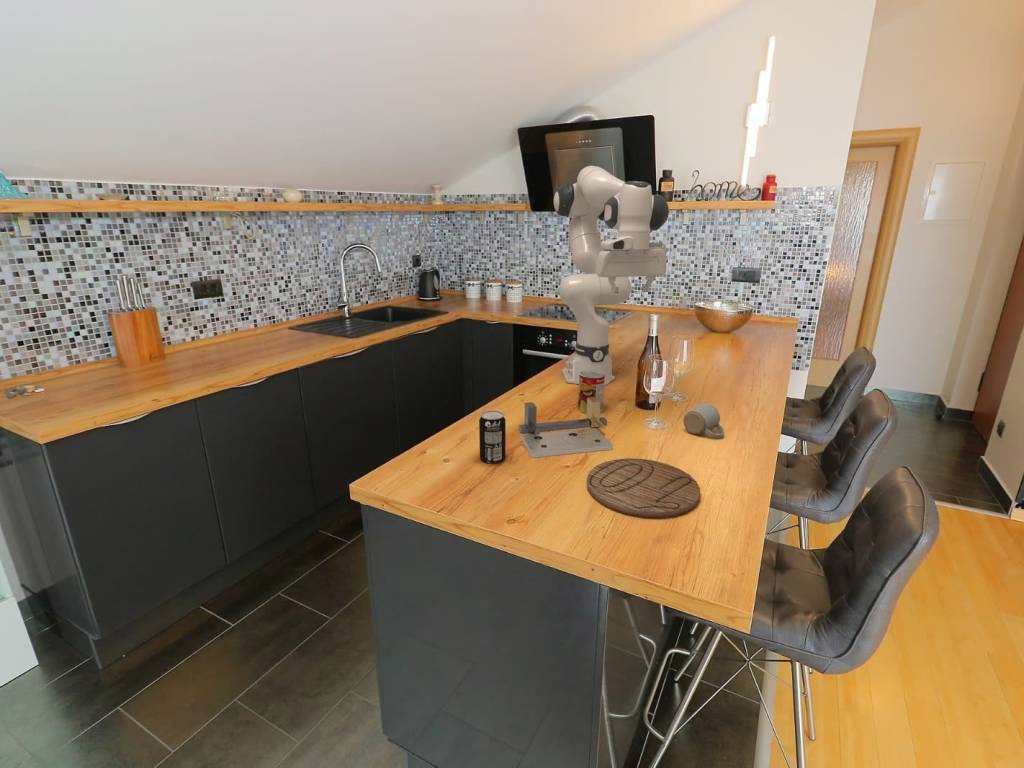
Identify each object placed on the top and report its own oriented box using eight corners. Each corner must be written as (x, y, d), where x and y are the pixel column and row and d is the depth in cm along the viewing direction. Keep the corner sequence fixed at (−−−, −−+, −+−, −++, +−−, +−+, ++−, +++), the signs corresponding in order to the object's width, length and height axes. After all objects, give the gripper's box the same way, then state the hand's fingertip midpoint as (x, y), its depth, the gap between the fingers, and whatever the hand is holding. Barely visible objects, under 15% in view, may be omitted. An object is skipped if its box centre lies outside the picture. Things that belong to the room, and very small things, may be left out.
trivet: (717, 488, 124) (718, 480, 123) (667, 534, 106) (668, 526, 105) (622, 456, 139) (622, 449, 139) (564, 492, 122) (565, 484, 121)
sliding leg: (585, 421, 160) (587, 397, 158) (593, 420, 161) (594, 396, 158) (599, 435, 151) (600, 409, 148) (607, 434, 151) (608, 408, 149)
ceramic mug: (680, 431, 154) (683, 406, 152) (694, 423, 159) (697, 399, 157) (714, 443, 147) (718, 417, 144) (728, 434, 152) (732, 409, 150)
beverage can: (491, 450, 142) (491, 407, 138) (510, 457, 138) (510, 413, 134) (474, 459, 137) (473, 415, 133) (493, 466, 133) (493, 421, 129)
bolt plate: (521, 439, 149) (521, 434, 148) (595, 431, 153) (595, 427, 153) (532, 457, 138) (532, 453, 137) (612, 449, 142) (613, 445, 142)
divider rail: (518, 429, 155) (518, 403, 153) (602, 421, 161) (604, 396, 159) (527, 443, 146) (527, 415, 144) (616, 434, 152) (618, 408, 149)
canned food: (583, 403, 175) (585, 368, 172) (606, 408, 172) (608, 372, 168) (573, 411, 169) (575, 374, 165) (597, 416, 165) (599, 378, 161)
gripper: (661, 241, 155) (657, 290, 159) (595, 242, 151) (593, 292, 155) (672, 242, 150) (668, 292, 154) (604, 243, 145) (601, 295, 149)
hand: (630, 292), depth 154 cm, fingers open, 8 cm apart
